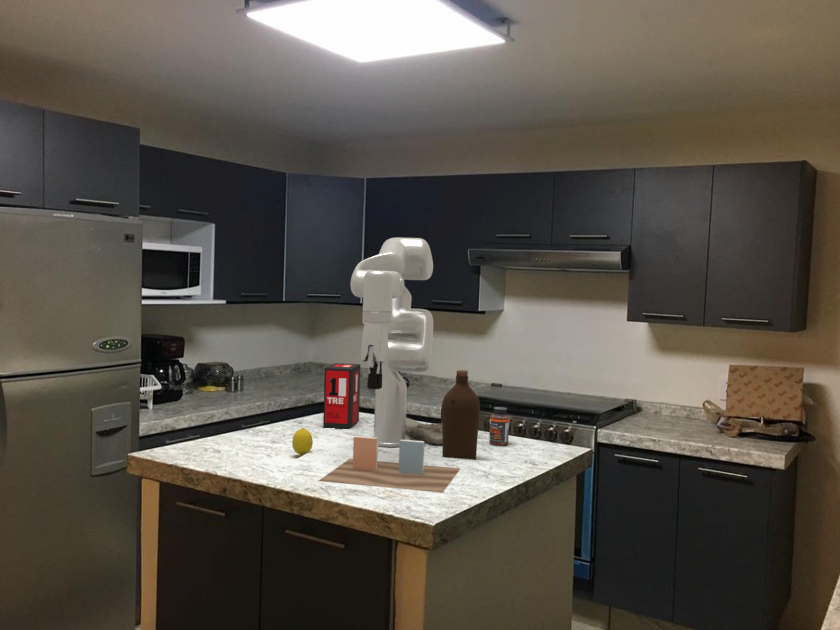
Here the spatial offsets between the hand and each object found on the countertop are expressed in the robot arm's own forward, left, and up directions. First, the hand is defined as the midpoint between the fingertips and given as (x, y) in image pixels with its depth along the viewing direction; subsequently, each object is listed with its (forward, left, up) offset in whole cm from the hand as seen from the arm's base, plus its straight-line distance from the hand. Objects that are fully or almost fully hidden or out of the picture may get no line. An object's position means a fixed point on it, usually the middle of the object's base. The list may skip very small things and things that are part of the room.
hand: (375, 388), depth 201 cm
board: (+10, +8, -21) cm, 25 cm away
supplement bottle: (-43, +28, -21) cm, 56 cm away
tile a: (+7, 0, -20) cm, 21 cm away
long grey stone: (-48, +2, -22) cm, 53 cm away
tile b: (+7, +12, -20) cm, 24 cm away
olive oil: (-18, +20, -21) cm, 34 cm away
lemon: (-6, -22, -21) cm, 31 cm away
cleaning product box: (-55, -27, -21) cm, 65 cm away
